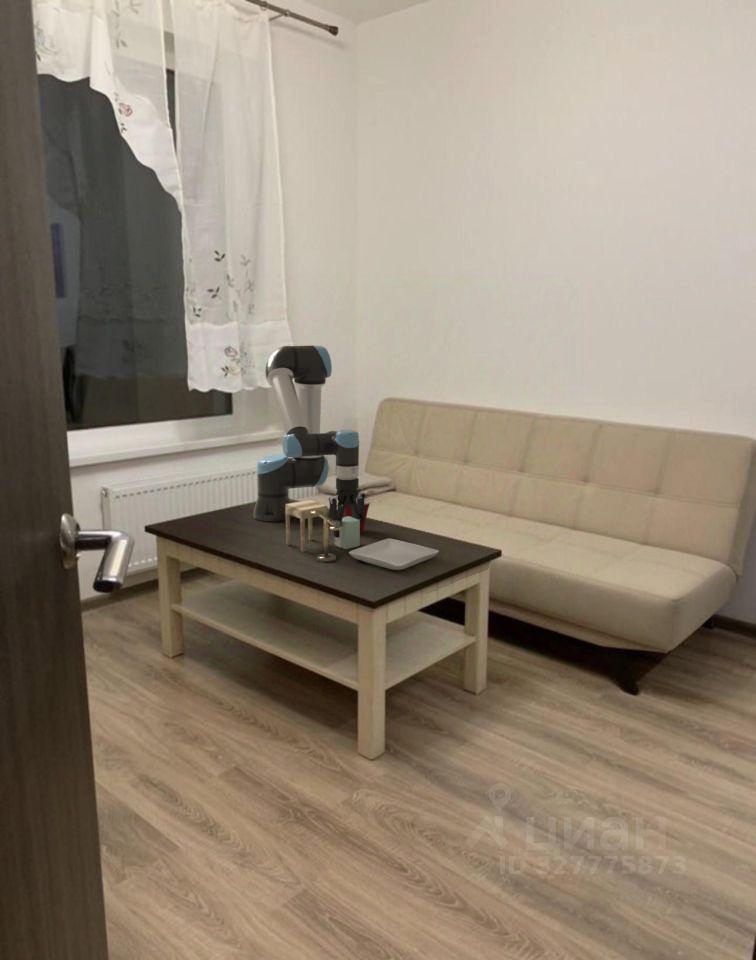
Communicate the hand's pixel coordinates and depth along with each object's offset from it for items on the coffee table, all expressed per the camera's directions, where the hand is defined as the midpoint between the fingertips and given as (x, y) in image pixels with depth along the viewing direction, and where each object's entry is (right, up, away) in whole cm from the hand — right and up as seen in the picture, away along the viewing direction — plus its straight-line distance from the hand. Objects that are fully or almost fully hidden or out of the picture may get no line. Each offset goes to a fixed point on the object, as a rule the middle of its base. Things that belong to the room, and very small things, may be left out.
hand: (347, 544), depth 253 cm
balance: (-6, -4, -15) cm, 16 cm away
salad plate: (+15, -4, -14) cm, 21 cm away
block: (0, 0, 0) cm, 0 cm away
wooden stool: (-14, 0, -1) cm, 14 cm away
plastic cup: (+2, +3, +16) cm, 16 cm away
